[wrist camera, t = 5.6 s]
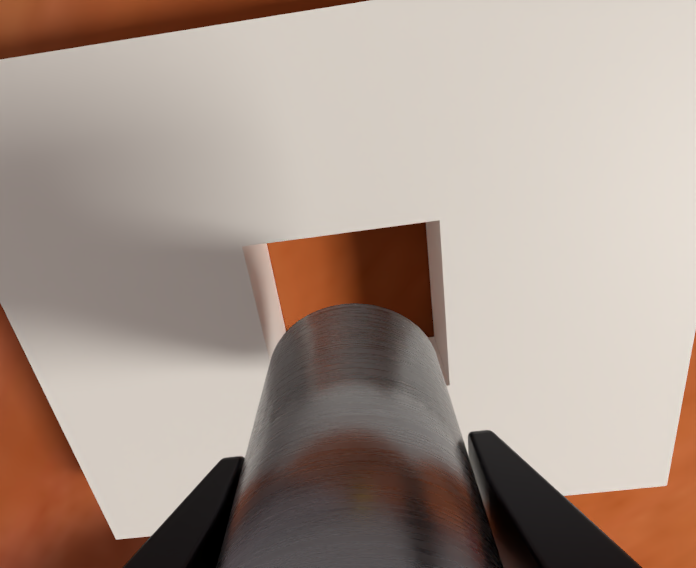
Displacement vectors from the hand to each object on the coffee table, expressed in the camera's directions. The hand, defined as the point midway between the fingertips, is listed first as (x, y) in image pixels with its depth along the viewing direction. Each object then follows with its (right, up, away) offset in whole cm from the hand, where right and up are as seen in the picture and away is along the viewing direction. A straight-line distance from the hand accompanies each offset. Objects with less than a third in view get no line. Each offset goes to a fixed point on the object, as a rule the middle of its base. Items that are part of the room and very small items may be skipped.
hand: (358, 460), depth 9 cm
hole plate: (0, +3, +8) cm, 9 cm away
